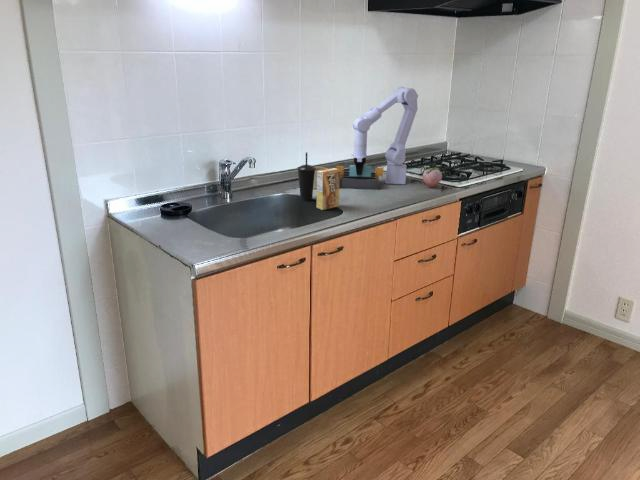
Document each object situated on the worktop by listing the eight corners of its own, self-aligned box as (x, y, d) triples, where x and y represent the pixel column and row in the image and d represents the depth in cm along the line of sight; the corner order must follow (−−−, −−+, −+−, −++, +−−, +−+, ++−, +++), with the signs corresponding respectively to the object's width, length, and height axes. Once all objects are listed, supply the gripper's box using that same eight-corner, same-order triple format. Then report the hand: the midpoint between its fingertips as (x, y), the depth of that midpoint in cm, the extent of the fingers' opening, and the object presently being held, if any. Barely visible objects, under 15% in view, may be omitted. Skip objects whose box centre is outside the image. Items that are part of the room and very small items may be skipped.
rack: (382, 181, 251) (383, 164, 248) (382, 189, 236) (383, 171, 233) (336, 180, 253) (337, 162, 250) (334, 188, 238) (334, 169, 235)
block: (370, 182, 245) (371, 165, 242) (370, 183, 243) (371, 166, 240) (349, 181, 246) (349, 165, 243) (349, 183, 243) (349, 166, 241)
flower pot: (321, 191, 232) (321, 172, 229) (303, 188, 237) (303, 169, 234) (332, 187, 240) (332, 168, 237) (315, 184, 244) (315, 166, 241)
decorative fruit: (428, 183, 248) (430, 163, 245) (443, 187, 243) (445, 166, 239) (417, 187, 242) (419, 166, 238) (432, 190, 237) (434, 169, 233)
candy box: (332, 204, 214) (333, 167, 209) (339, 206, 211) (340, 169, 206) (316, 208, 209) (316, 170, 203) (322, 210, 206) (323, 172, 200)
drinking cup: (305, 196, 225) (305, 150, 218) (318, 199, 221) (319, 152, 213) (293, 199, 219) (293, 152, 212) (307, 203, 215) (307, 155, 208)
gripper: (352, 142, 245) (351, 170, 250) (351, 147, 232) (350, 177, 236) (367, 142, 244) (366, 170, 249) (366, 148, 231) (365, 178, 236)
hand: (359, 174), depth 243 cm, fingers closed on block, 2 cm apart
